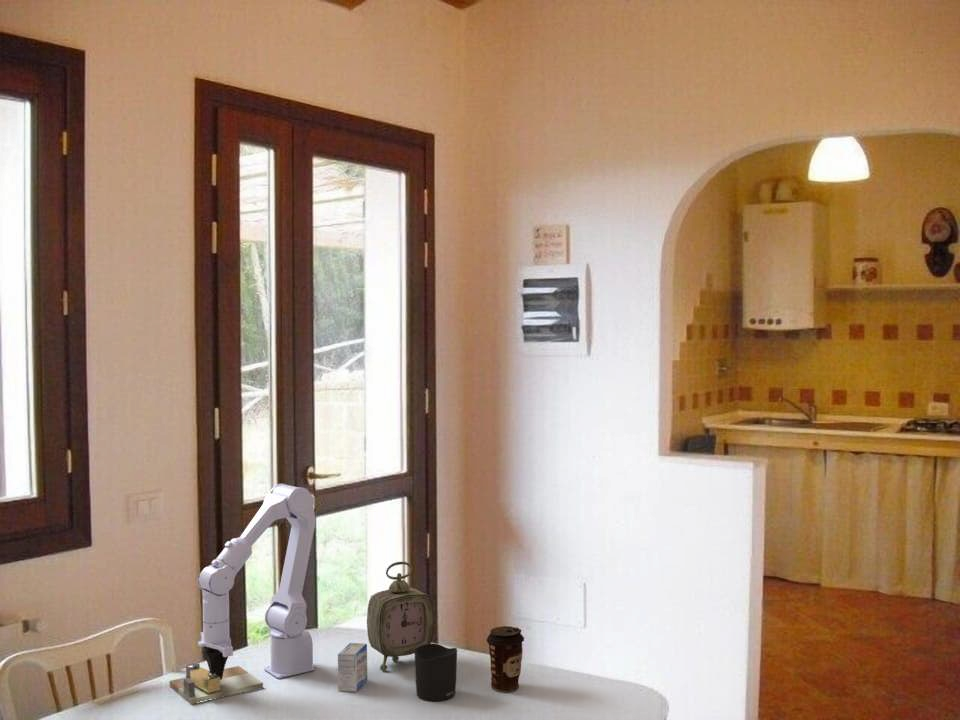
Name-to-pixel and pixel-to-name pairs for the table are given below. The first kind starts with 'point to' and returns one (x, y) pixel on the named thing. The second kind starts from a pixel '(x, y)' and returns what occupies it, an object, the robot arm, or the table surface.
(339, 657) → the medicine box
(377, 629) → the tabletop clock
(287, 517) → the robot arm
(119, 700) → the table surface
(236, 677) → the metal latch base plate
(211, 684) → the latch bar
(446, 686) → the pen holder
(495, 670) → the coffee cup
